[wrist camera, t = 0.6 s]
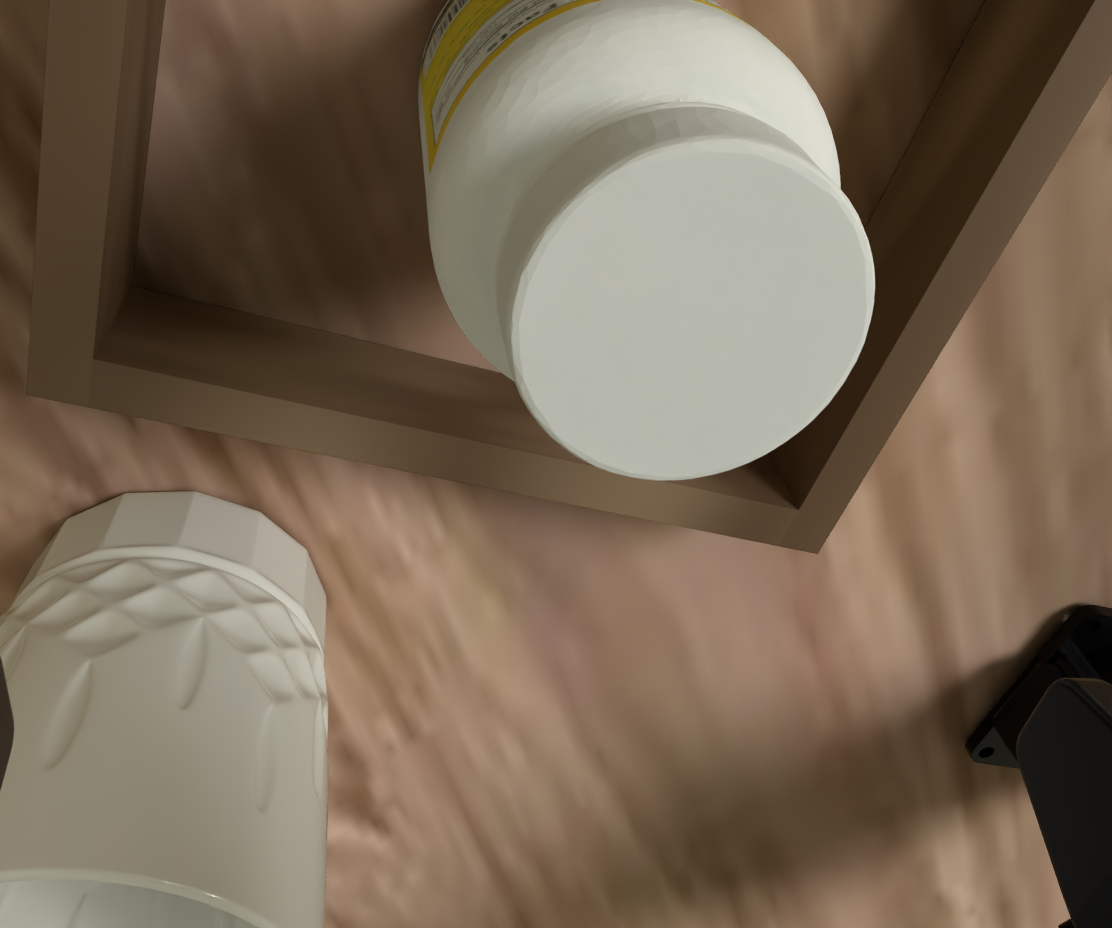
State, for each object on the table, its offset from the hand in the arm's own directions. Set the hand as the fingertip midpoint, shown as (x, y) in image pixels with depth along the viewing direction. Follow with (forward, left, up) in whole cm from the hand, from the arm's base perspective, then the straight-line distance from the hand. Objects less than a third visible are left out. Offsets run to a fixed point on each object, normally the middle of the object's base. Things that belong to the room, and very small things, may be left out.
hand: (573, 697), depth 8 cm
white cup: (+4, +12, -13) cm, 18 cm away
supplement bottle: (-1, -2, -13) cm, 13 cm away
